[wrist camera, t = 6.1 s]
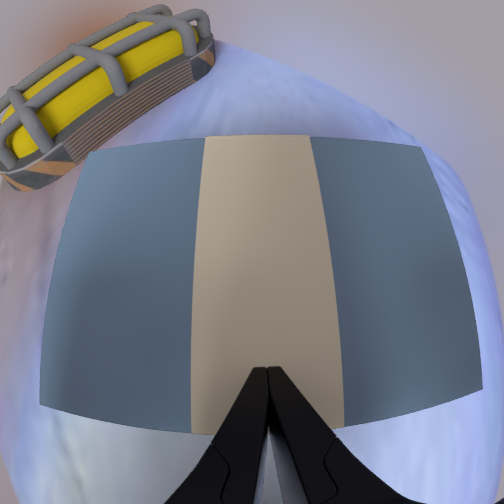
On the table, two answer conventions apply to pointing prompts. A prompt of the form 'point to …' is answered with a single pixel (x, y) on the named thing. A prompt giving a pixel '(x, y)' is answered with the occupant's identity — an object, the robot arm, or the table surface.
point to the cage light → (98, 91)
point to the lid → (256, 283)
